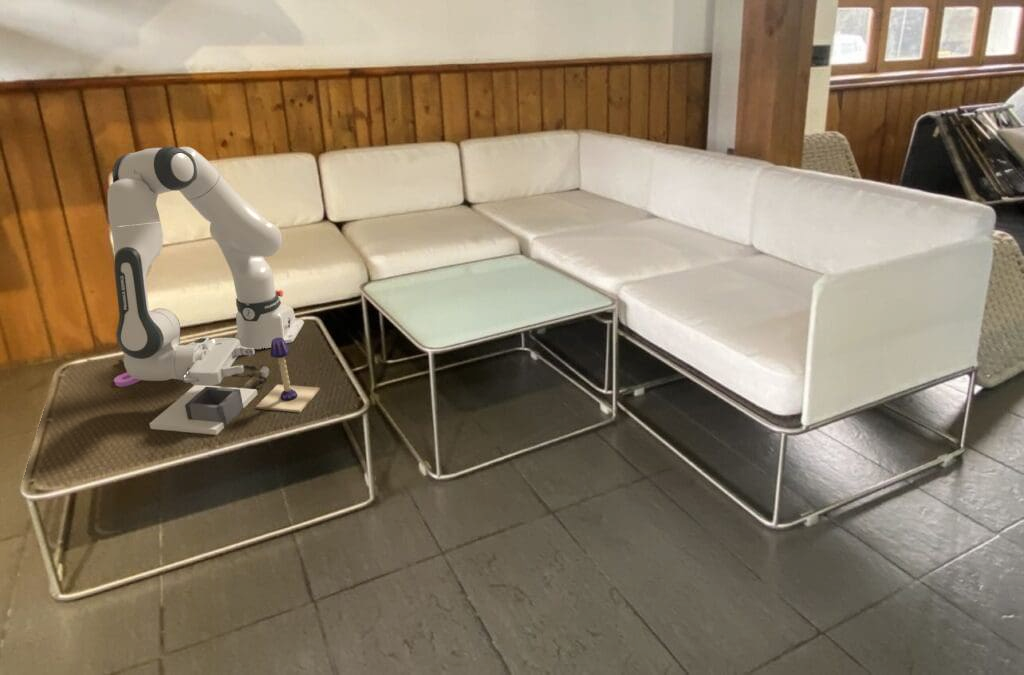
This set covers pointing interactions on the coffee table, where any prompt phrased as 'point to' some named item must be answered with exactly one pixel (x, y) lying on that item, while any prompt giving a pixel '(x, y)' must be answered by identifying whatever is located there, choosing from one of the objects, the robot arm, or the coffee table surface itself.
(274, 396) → the birch pad
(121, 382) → the bracket
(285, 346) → the toy lamp
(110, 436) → the coffee table surface
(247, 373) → the eagle figurine
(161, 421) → the socket board
